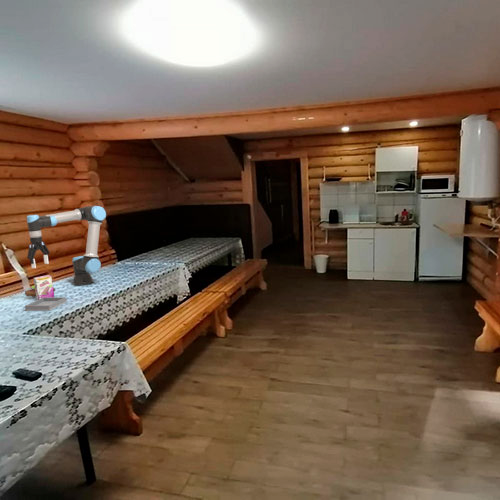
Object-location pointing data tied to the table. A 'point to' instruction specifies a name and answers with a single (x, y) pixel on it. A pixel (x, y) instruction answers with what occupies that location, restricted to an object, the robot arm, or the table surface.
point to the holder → (45, 304)
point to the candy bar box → (44, 287)
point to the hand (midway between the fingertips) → (40, 265)
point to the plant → (32, 292)
